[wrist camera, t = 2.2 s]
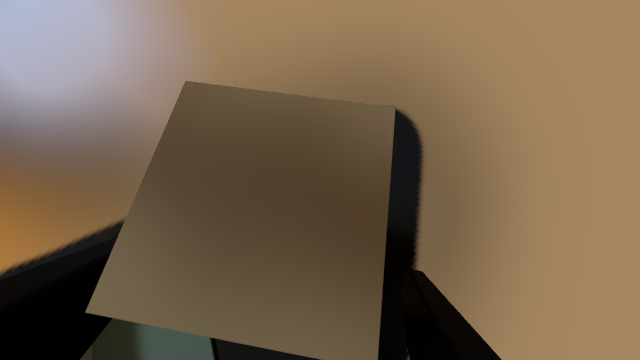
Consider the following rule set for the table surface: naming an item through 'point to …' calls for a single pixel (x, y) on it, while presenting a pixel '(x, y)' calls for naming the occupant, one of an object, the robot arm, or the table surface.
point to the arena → (147, 343)
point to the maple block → (260, 224)
